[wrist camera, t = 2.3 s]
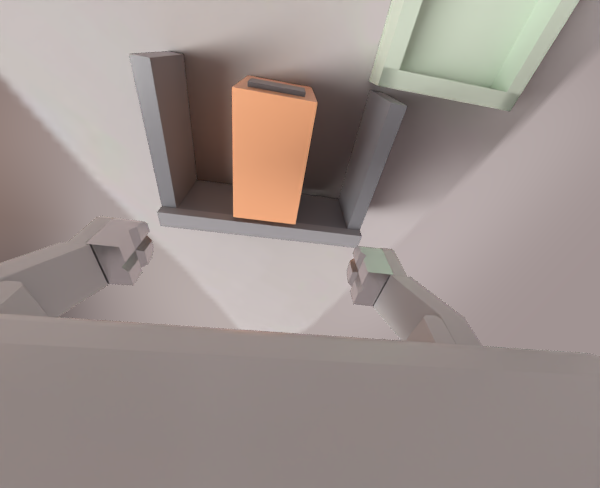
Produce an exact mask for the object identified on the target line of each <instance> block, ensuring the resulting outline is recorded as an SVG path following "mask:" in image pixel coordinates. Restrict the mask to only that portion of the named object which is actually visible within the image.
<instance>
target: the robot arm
mask: <svg viewBox="0 0 600 488" xmlns="http://www.w3.org/2000/svg"><path fill="white" fill-rule="evenodd" d="M148 233H149V227H148V224H147V223H145V222H143V221H136V220H128V219H121V218H113V217H104V216H100V217H96V218H95V219H94V220H93V221H92V222H90V223H89V224H88V225H87V226H86V227H85V228H83V229H82V230H81V231H80V232H79V233H78V234H77V235H75V236H74V237H73V238H72V239H70V240H69V241H68V242H60V243H57V244H55V245H51V246H49V247H46V248H43V249H40V250H37V251H34V252H31V253H28V254H25V255H22V256H19V257H17V258H13V259H11V260H8V261H5V262H2V263H0V488H600V356H597V355H593V354H588V353H580V352H564V351H548V350H533V349H518V348H504V347H489V346H488V347H487V346H482V344H481V343H480V341H479V340H478V338H477V336H476V335H475V333H474V332H473V330H472V329H471V327H470V325H469V324H468V322H467V321H466V319H465V318H464V317H463V316H462V315H461V314H459V313H458V312H457V311H455V310H454V309H453V308H451V307H450V306H449V305H447V304H446V303H445V302H443V301H442V300H441V299H439V298H438V297H437V296H435V295H434V294H433V293H431V292H430V291H429V290H427V289H426V288H425V287H424V286H422V285H421V284H419V283H418V282H417V281H415V280H414V279H413V278H412V277H407V275H406V273H405V271H404V269H403V267H402V266H401V263H400V261H399V259H398V257H397V256H396V254H395V252H394V250H392V249H386V248H371V247H362V246H356V247H355V249H354V251H353V256H354V259H352V260H351V261H350V262H349V265H348V268H347V280H348V283H349V284H350V285H351V286H352V288H351V290H350V293H351V297H352V301H353V304H357V305H366V306H373V308H374V309H375V310H376V311H377V312H378V314H379V315H380V316H381V317H382V318H383V319H384V321H385V322H386V323H387V324H388V325H389V326H390V328H391V329H392V330H393V331H394V332H395V334H396V335H397V336H398V337H399V338H400V340H386V339H369V338H355V337H341V336H327V335H312V334H298V333H283V332H268V331H254V330H239V329H224V328H210V327H195V326H180V325H165V324H150V323H135V322H121V321H106V320H91V319H77V318H62V317H59V316H60V315H62V314H64V313H65V312H67V311H68V310H70V309H72V308H73V307H74V306H76V305H78V304H79V303H81V302H83V301H84V300H85V299H87V298H89V297H90V296H92V295H93V294H95V293H97V292H98V291H100V290H101V289H103V288H105V287H106V286H108V284H118V285H134V284H135V283H136V281H137V279H138V278H139V276H140V275H141V274H142V269H141V267H143V266H145V265H147V264H148V263H149V262H150V260H151V258H152V255H153V242H152V240H151V239H150V238H149V237H148V236H147V234H148Z"/></svg>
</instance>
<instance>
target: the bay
mask: <svg viewBox="0 0 600 488" xmlns="http://www.w3.org/2000/svg"><path fill="white" fill-rule="evenodd" d="M129 58H130V63H131V67H132V72H133V76H134V81H135V85H136V90H137V95H138V99H139V104H140V108H141V113H142V117H143V122H144V127H145V131H146V136H147V140H148V145H149V149H150V154H151V159H152V163H153V168H154V172H155V177H156V181H157V186H158V191H159V195H160V200H161V204H162V207H161V208H160V209H159V211H158V212H157V213H158V217H159V222H160V226H165V227H174V228H183V229H191V230H200V231H209V232H218V233H227V234H236V235H245V236H254V237H263V238H272V239H281V240H290V241H298V242H307V243H316V244H325V245H334V246H343V247H352V248H355V247H356V246H358V244H359V242H360V240H361V237H362V236H361V233H360V228H361V225H362V223H363V220H364V218H365V215H366V212H367V210H368V207H369V205H370V202H371V199H372V197H373V194H374V192H375V189H376V187H377V184H378V181H379V179H380V176H381V174H382V171H383V168H384V166H385V163H386V161H387V158H388V155H389V153H390V150H391V148H392V145H393V143H394V140H395V137H396V135H397V132H398V130H399V127H400V124H401V122H402V119H403V117H404V114H405V111H406V109H407V106H406V105H405V104H403V103H401V102H399V101H397V100H396V99H394V98H392V97H390V96H388V95H387V94H385V93H383V92H378V91H372V90H370V91H369V95H368V98H367V102H366V105H365V109H364V112H363V116H362V119H361V122H360V126H359V129H358V133H357V136H356V140H355V143H354V146H353V150H352V153H351V157H350V160H349V164H348V167H347V171H346V174H345V177H344V181H343V184H342V188H341V191H340V195H339V198H338V199H335V198H327V197H320V196H312V195H305V194H301V197H300V202H299V208H298V213H297V219H296V224H287V223H279V222H271V221H262V220H254V219H246V218H237V217H233V185H231V184H224V183H216V182H209V181H202V180H197V175H196V166H195V157H194V147H193V138H192V129H191V119H190V110H189V101H188V92H187V82H186V73H185V64H184V54H180V53H175V52H170V51H162V52H148V53H133V54H129Z"/></svg>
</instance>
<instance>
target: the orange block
mask: <svg viewBox="0 0 600 488" xmlns="http://www.w3.org/2000/svg"><path fill="white" fill-rule="evenodd" d="M317 103H318V102H317V100H316V97H315V95H314V93H313V90H312V88H311V87H308V86H303V85H297V84H292V83H287V82H281V81H276V80H271V79H265V78H260V77H255V76H249V75H248V76H246V77H245V78H244V79H242V80H241V81H239V82H238V83H237V84H235V85H234V86H232V145H233V217H237V218H246V219H254V220H262V221H271V222H279V223H287V224H296V219H297V213H298V208H299V202H300V197H301V191H302V186H303V180H304V175H305V169H306V164H307V158H308V153H309V147H310V142H311V136H312V131H313V125H314V120H315V114H316V109H317Z"/></svg>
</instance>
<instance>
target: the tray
mask: <svg viewBox="0 0 600 488" xmlns="http://www.w3.org/2000/svg"><path fill="white" fill-rule="evenodd" d="M578 2H579V0H392V2H391V5H390V9H389V12H388V16H387V19H386V23H385V26H384V30H383V33H382V37H381V40H380V44H379V47H378V51H377V55H376V58H375V62H374V65H373V69H372V72H371V76H370V79H369V82H371V83H373V84H375V85H377V86H381V87H386V88H392V89H397V90H402V91H407V92H412V93H417V94H422V95H427V96H433V97H438V98H443V99H448V100H453V101H458V102H463V103H468V104H474V105H479V106H484V107H489V108H494V109H499V110H504V111H509V112H510V111H511V109H512V107H513V106H514V104H515V103H516V101H517V99H518V98H519V96H520V95H521V93H522V92H523V90H524V88H525V87H526V85H527V84H528V82H529V80H530V79H531V77H532V76H533V74H534V72H535V71H536V69H537V68H538V66H539V64H540V63H541V61H542V60H543V58H544V56H545V55H546V53H547V52H548V50H549V48H550V47H551V45H552V44H553V42H554V40H555V39H556V37H557V36H558V34H559V32H560V31H561V29H562V28H563V26H564V24H565V23H566V21H567V20H568V18H569V16H570V15H571V13H572V12H573V10H574V8H575V7H576V5H577V4H578Z"/></svg>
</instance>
